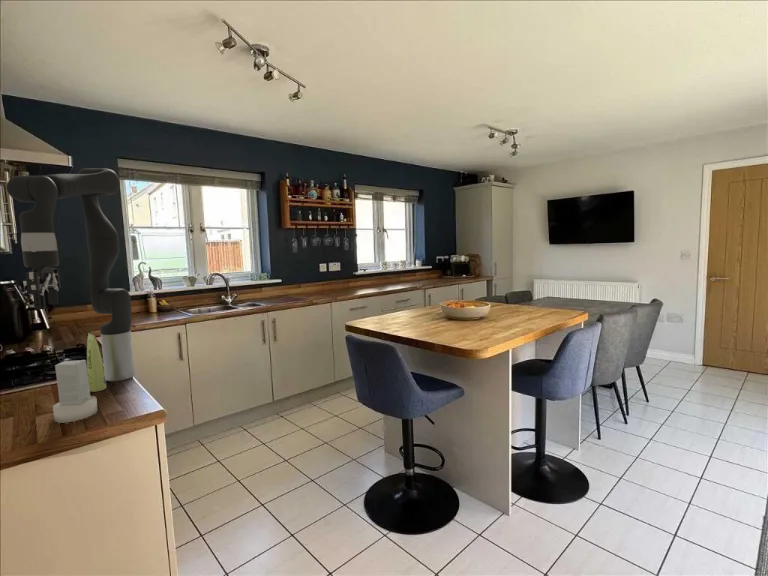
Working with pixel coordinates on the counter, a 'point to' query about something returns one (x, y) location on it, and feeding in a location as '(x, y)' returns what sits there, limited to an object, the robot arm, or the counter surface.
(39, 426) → the counter surface
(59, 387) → the skincare box
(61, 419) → the stand
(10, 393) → the counter surface
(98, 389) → the tube
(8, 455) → the counter surface
